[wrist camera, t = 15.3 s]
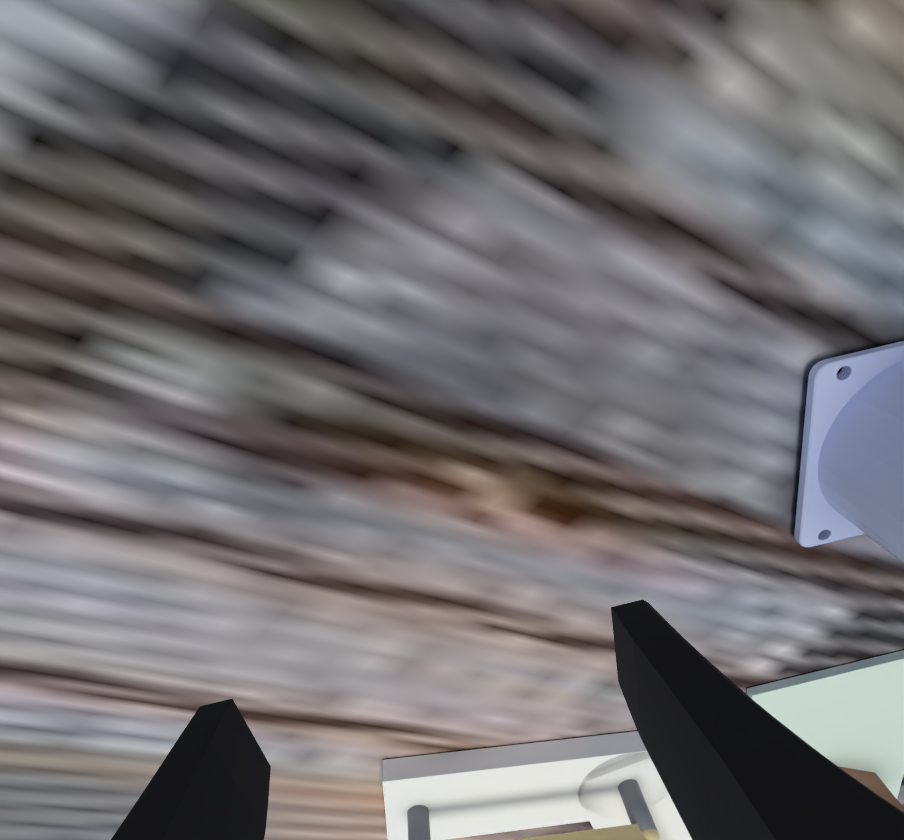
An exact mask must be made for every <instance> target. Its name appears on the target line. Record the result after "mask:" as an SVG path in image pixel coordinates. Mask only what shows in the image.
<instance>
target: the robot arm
mask: <svg viewBox="0 0 904 840" xmlns="http://www.w3.org/2000/svg"><path fill="white" fill-rule="evenodd" d="M841 367H843V368H842V371H841V372H840V373H839V374H838V375H837V372H838V370H839V369H840V368H841ZM862 534H866V535H868V536H869V537H870V538H872V539H873V540H874V541H875V542H877V543H878V544H879V545H881V546H882V547H883V548H885V549H886V550H887V551H889V552H890V553H891V554H893V555H894V556H895V557H896V558H898V559H899V560H900V561H902V562H903V563H904V341H901V342H897V343H892V344H888V345H884V346H880V347H875V348H871V349H867V350H863V351H858V352H854V353H850V354H846V355H841V356H837V357H833V358H829V359H824V360H822V361H819V362H818V363H816V364H815V365H814V366H813V367H812V369H811V370H810V373H809V377H808V388H807V399H806V410H805V422H804V433H803V444H802V455H801V466H800V477H799V488H798V499H797V511H796V522H795V533H794V537H795V540H796V541H797V542H798V543H799V544H800V545H802V546H803V547H812V546H817V545H821V544H825V543H829V542H833V541H837V540H841V539H846V538H850V537H854V536H858V535H862ZM611 612H612V622H613V632H614V642H615V652H616V661H617V671H618V681H619V684H620V687H621V689H622V692H623V695H624V697H625V700H626V702H627V705H628V708H629V710H630V713H631V715H632V718H633V720H634V723H635V725H636V728H637V730H638V733H639V735H640V738H641V740H642V742H643V744H644V746H645V748H646V750H647V752H648V754H649V756H650V758H651V760H652V762H653V764H654V766H655V768H656V770H657V772H658V773H659V775H660V777H661V779H662V781H663V783H664V785H665V787H666V789H667V791H668V793H669V795H670V797H671V799H672V801H673V803H674V805H675V807H676V809H677V811H678V813H679V815H680V817H681V819H682V821H683V823H684V824H685V826H686V828H687V830H688V832H689V834H690V836H691V838H692V840H904V812H902V811H901V810H899V809H898V808H896V807H895V806H894V805H892V804H891V803H889V802H888V801H886V800H885V799H883V798H882V797H880V796H879V795H877V794H876V793H874V792H873V791H872V790H870V789H869V788H867V787H866V786H865V785H863V784H862V783H860V782H859V781H858V780H856V779H855V778H853V777H852V776H851V775H849V774H848V773H846V772H845V771H843V770H842V769H841V768H839V767H838V766H837V765H835V764H834V763H833V762H831V761H830V760H829V759H827V758H826V757H824V756H823V755H822V754H821V753H819V752H818V751H817V750H815V749H814V748H813V747H811V746H810V745H809V744H807V743H806V742H805V741H803V740H802V739H801V738H800V737H798V736H797V735H796V734H795V733H793V732H792V731H791V730H790V729H788V728H787V727H786V726H784V725H783V724H782V723H781V722H779V721H778V720H777V719H776V718H774V717H773V716H772V715H771V714H769V713H768V712H767V711H766V710H765V709H763V708H762V707H761V706H760V705H759V704H757V703H756V702H755V701H754V700H753V699H751V698H750V697H749V696H748V695H747V694H746V693H744V692H743V691H742V690H741V689H740V688H739V687H737V686H736V685H735V684H734V683H733V682H732V681H731V680H729V679H728V678H727V677H726V676H725V675H724V674H722V673H721V672H720V671H719V670H718V669H717V668H716V667H715V666H713V665H712V664H711V663H710V662H709V661H708V660H707V659H706V658H705V657H703V656H702V655H701V654H700V653H699V652H698V651H697V650H696V649H695V648H694V647H693V646H692V645H691V644H690V643H688V642H687V641H686V640H685V639H684V638H683V637H682V636H681V635H680V634H679V633H678V632H677V631H676V630H675V629H674V628H673V627H672V626H671V625H670V624H669V623H668V622H667V621H666V620H665V619H664V618H663V617H662V616H661V615H660V614H659V613H658V612H657V611H656V610H655V609H654V608H653V607H652V606H651V605H650V604H649V603H648V602H646V601H644V600H640V601H635V602H631V603H627V604H623V605H619V606H615V607H611ZM270 767H271V766H270V765H269V763H268V761H267V759H266V758H265V756H264V754H263V752H262V750H261V749H260V747H259V745H258V743H257V742H256V740H255V738H254V736H253V735H252V733H251V731H250V729H249V727H248V726H247V724H246V722H245V720H244V719H243V717H242V715H241V713H240V711H239V710H238V708H237V706H236V704H235V703H234V701H233V699H229V700H225V701H221V702H217V703H213V704H208V705H204V706H200V707H199V709H198V710H197V712H196V713H195V715H194V716H193V718H192V719H191V721H190V722H189V724H188V725H187V727H186V728H185V730H184V731H183V733H182V734H181V736H180V737H179V739H178V740H177V742H176V743H175V745H174V746H173V748H172V749H171V751H170V752H169V754H168V755H167V757H166V758H165V760H164V761H163V763H162V765H161V766H160V768H159V769H158V771H157V772H156V774H155V775H154V777H153V778H152V780H151V781H150V783H149V784H148V786H147V787H146V789H145V790H144V792H143V793H142V795H141V796H140V798H139V799H138V801H137V802H136V804H135V805H134V807H133V808H132V810H131V811H130V813H129V814H128V816H127V817H126V818H125V820H124V821H123V823H122V824H121V826H120V827H119V829H118V830H117V832H116V833H115V835H114V836H113V838H112V839H111V840H264V835H265V829H266V818H267V808H268V796H269V781H270Z"/></svg>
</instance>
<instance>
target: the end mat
mask: <svg viewBox="0 0 904 840" xmlns="http://www.w3.org/2000/svg"><path fill="white" fill-rule="evenodd" d="M747 695H748V696H749V697H750V698H751V699H753V700H754V701H755V702H756V703H757V704H759V705H760V706H761V707H762V708H763V709H765V710H766V711H767V712H768V713H769V714H771V715H772V716H773V717H774V718H776V719H777V720H778V721H779V722H781V723H782V724H783V725H784V726H786V727H787V728H788V729H790V730H791V731H792V732H793V733H795V734H796V735H797V736H798V737H800V738H801V739H802V740H803V741H805V742H806V743H807V744H809V745H810V746H811V747H813V748H814V749H815V750H817V751H818V752H819V753H821V754H822V755H823V756H824V757H826V758H827V759H829V760H830V761H831V762H833V763H834V764H835V765H837V766H839V767H845V768H851V769H857V770H863V771H869V772H874V773H876V774H877V776H878V777H879V778H880V779H881V780H882V782H883V783H884V784H885V785H886V787H887V788H888V789H889V790H890V792H891V793H892V794H893V795H894V797H895V798H896V799H897V797H898V793H899V790H900V786H901V782H902V778H903V774H904V650H902V651H898V652H894V653H890V654H886V655H882V656H878V657H873V658H869V659H865V660H861V661H857V662H853V663H849V664H845V665H841V666H837V667H833V668H829V669H824V670H820V671H816V672H812V673H808V674H804V675H800V676H796V677H792V678H788V679H784V680H779V681H775V682H771V683H767V684H763V685H759V686H755V687H751V688H747Z"/></svg>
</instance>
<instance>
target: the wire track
mask: <svg viewBox="0 0 904 840" xmlns="http://www.w3.org/2000/svg"><path fill="white" fill-rule="evenodd" d="M383 792H384V803H385V814H386V825H387V836H388V840H446V839H453V838H461V837H469V836H477V835H484V834H492V833H500V832H508V831H515V830H523V829H531V828H539V827H546V826H554V825H562V824H570V823H577V822H585V821H590V823H591V825H592V827H593V828H594V829H593V830H585V831H577V832H570V833H562V834H554V835H547V836H539V837H531V838H524V839H516V840H692V838H691V836H690V834H689V832H688V830H687V828H686V826H685V824H684V823H683V821H682V819H681V817H680V815H679V813H678V811H677V809H676V807H675V805H674V803H673V801H672V799H671V797H670V795H669V793H668V791H667V789H666V787H665V785H664V783H663V781H662V779H661V777H660V775H659V773H658V772H657V770H656V768H655V766H654V764H653V762H652V760H651V758H650V756H649V754H648V752H647V750H646V748H645V746H644V744H643V742H642V740H641V738H640V735H639V733H638V731H633V732H625V733H616V734H607V735H598V736H589V737H580V738H571V739H563V740H554V741H545V742H536V743H527V744H518V745H509V746H501V747H492V748H483V749H474V750H465V751H456V752H447V753H439V754H430V755H421V756H412V757H403V758H394V759H385V760H383Z"/></svg>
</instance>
